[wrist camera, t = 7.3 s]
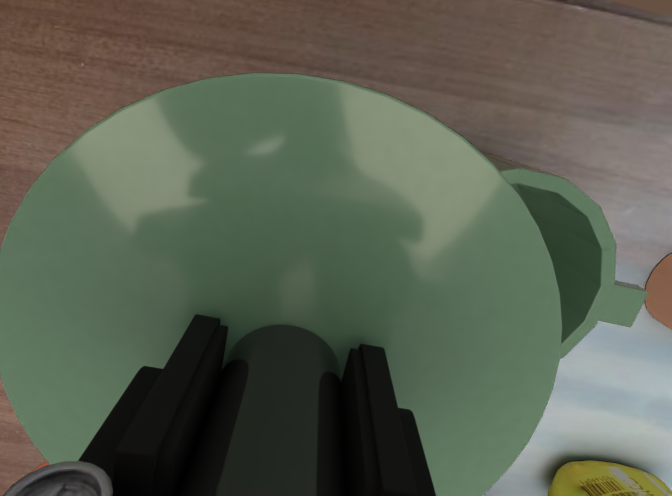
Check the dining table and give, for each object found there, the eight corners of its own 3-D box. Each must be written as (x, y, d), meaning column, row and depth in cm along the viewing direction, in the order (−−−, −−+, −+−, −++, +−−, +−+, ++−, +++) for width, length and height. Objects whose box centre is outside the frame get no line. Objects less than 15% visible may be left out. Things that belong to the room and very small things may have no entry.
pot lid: (16, 5, 9) (-596, -169, 3) (626, 149, 10) (1044, 227, 4) (28, 496, 13) (-208, 816, 7) (450, 552, 14) (536, 863, 9)
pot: (358, 121, 30) (372, 132, 21) (596, 179, 32) (703, 211, 23) (319, 284, 34) (317, 351, 25) (533, 327, 36) (602, 405, 27)
